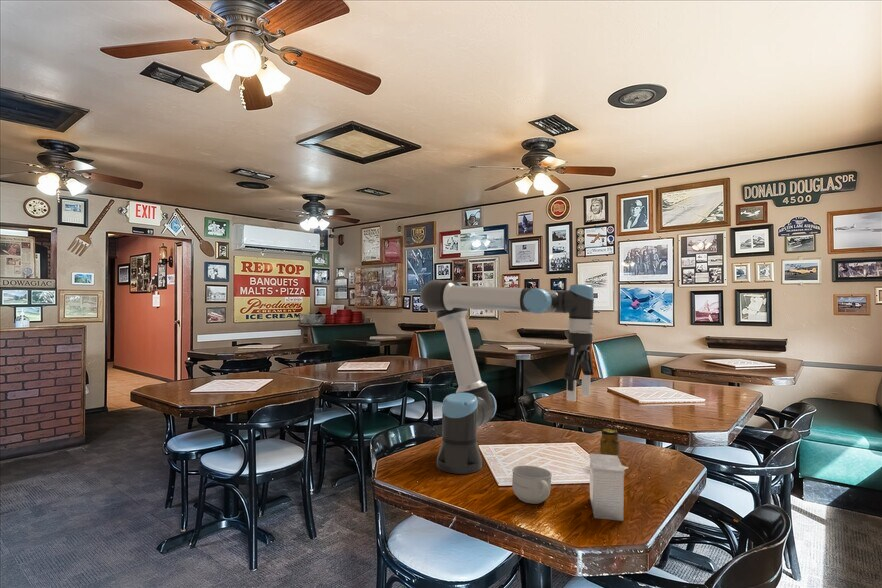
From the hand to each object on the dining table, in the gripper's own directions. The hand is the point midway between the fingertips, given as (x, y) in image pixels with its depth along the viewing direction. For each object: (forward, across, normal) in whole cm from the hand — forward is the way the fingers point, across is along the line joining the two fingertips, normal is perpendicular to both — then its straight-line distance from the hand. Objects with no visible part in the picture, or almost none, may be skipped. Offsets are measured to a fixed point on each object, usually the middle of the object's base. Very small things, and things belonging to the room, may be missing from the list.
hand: (578, 397), depth 150 cm
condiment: (+24, +14, -7) cm, 29 cm away
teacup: (+25, -28, +2) cm, 38 cm away
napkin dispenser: (+24, -21, -16) cm, 36 cm away
